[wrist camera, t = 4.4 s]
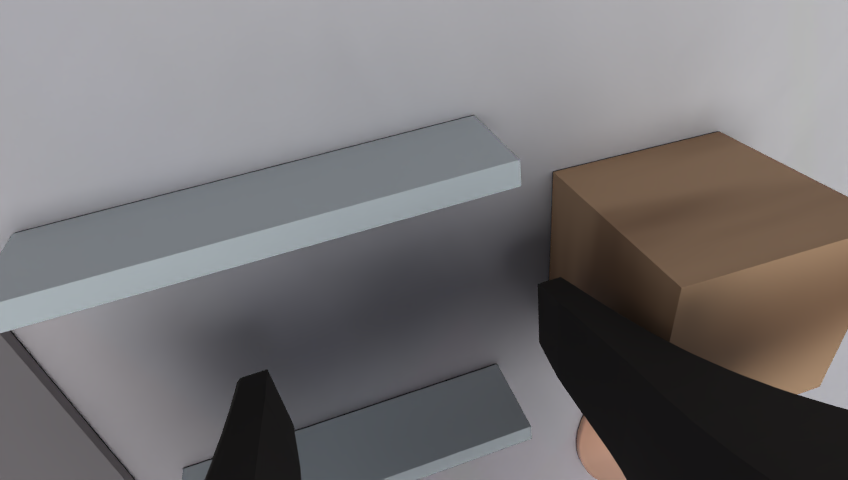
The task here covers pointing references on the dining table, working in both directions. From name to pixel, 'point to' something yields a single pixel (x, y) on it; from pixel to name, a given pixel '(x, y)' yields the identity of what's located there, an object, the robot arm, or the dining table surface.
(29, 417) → the tray
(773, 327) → the walnut block
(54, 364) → the dining table surface
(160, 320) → the dining table surface
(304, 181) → the grey parallel rails
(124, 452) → the dining table surface
